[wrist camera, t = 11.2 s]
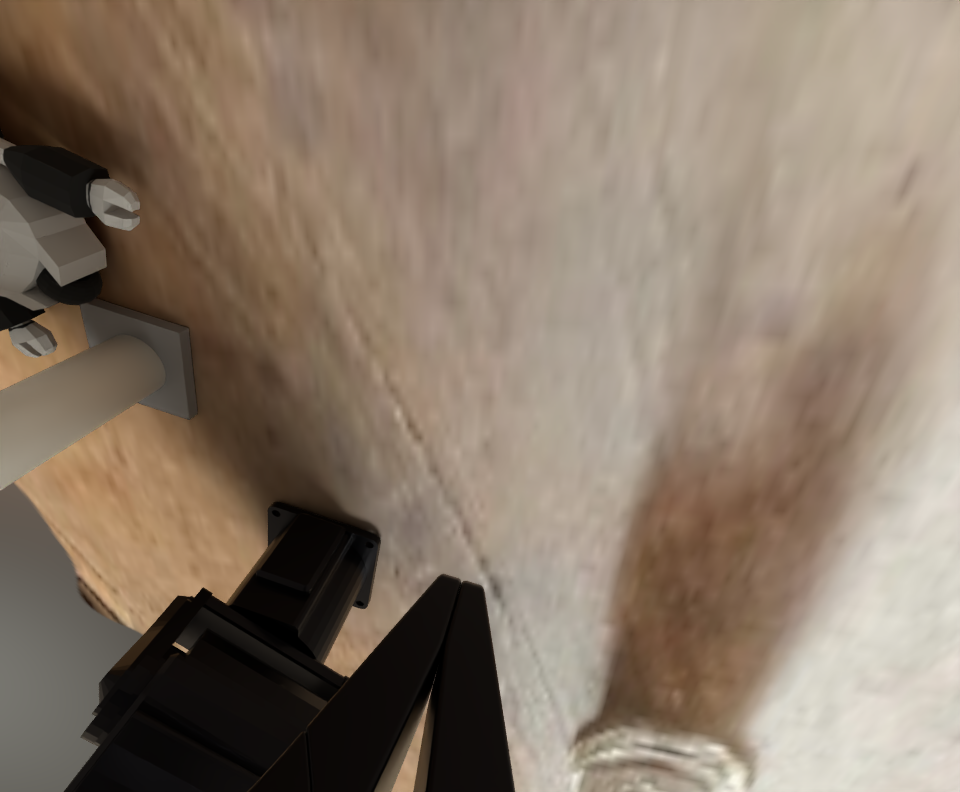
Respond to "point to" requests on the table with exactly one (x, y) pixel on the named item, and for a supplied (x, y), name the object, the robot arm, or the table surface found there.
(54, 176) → the robot toy
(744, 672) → the table surface
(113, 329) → the pair of white pegs
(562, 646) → the table surface
